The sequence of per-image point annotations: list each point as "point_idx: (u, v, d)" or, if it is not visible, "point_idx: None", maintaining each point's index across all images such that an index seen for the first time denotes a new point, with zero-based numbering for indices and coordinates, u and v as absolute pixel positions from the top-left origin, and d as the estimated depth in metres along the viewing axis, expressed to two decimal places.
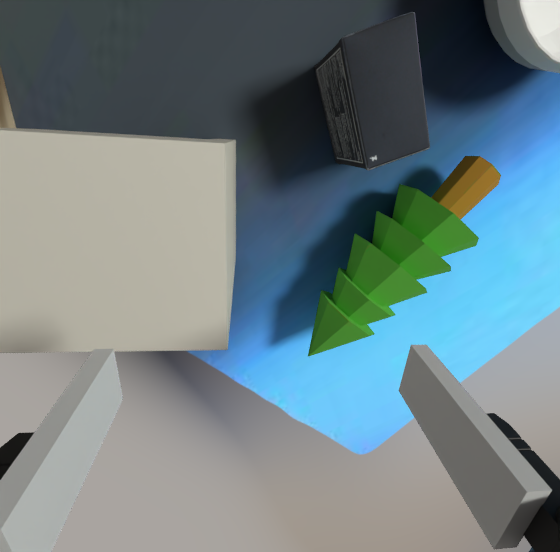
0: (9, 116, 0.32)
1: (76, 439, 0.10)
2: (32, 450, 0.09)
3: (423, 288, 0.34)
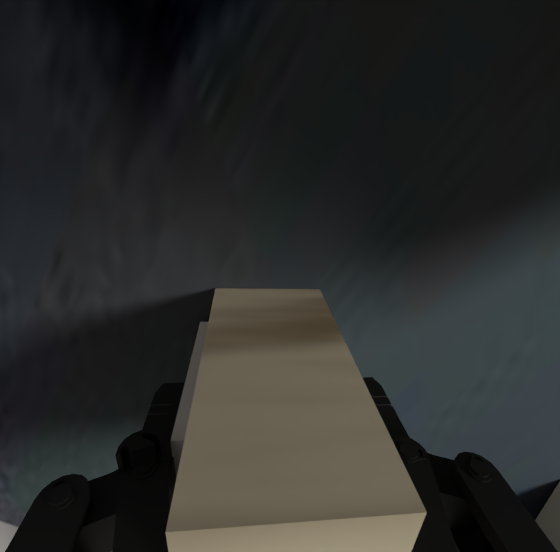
0: None
1: None
2: (191, 391, 0.11)
3: None
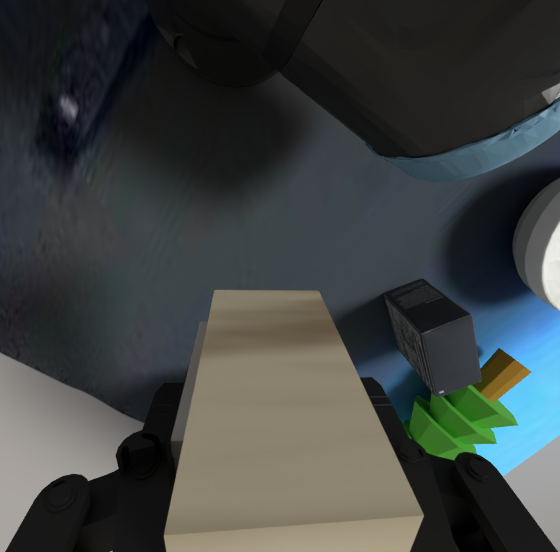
0: None
1: None
2: (191, 391, 0.11)
3: None
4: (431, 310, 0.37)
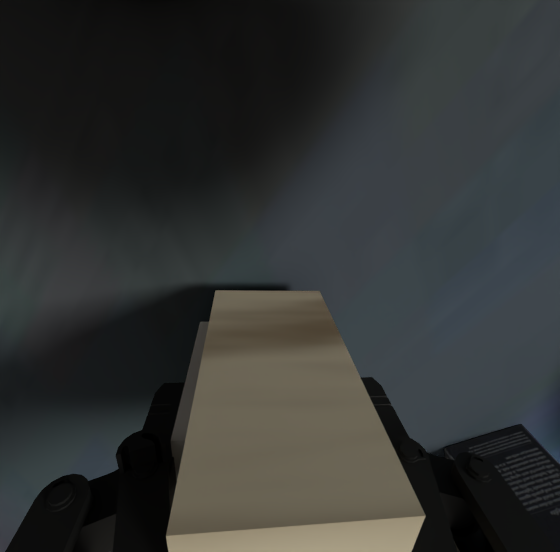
0: None
1: None
2: (191, 391, 0.11)
3: None
4: None
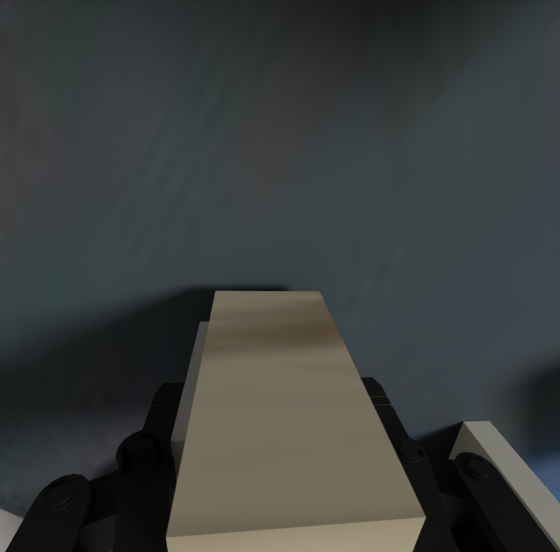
0: None
1: None
2: (191, 391, 0.11)
3: None
4: None
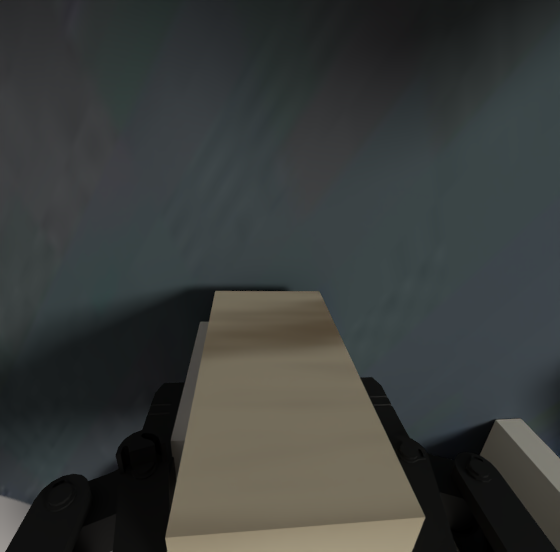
0: None
1: None
2: (191, 391, 0.11)
3: None
4: None
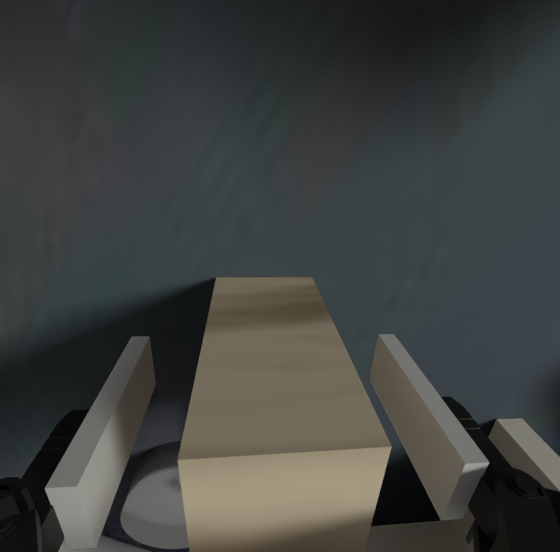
0: None
1: (124, 416, 0.11)
2: (91, 422, 0.10)
3: None
4: None
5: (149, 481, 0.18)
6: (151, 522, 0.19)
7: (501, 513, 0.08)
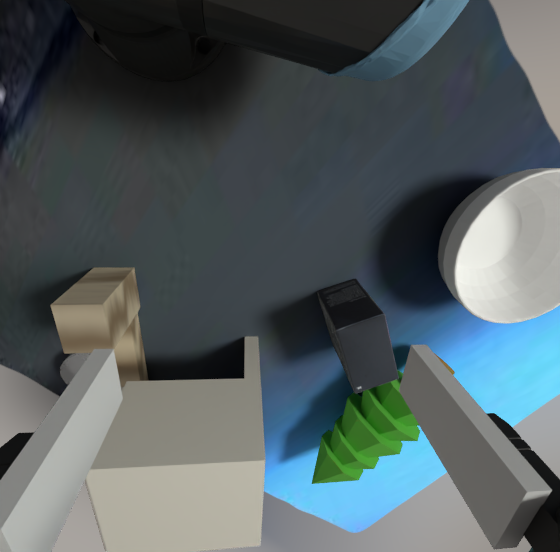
0: (144, 362, 0.47)
1: (76, 439, 0.10)
2: (32, 450, 0.09)
3: (397, 453, 0.46)
4: (351, 309, 0.39)
5: (71, 355, 0.43)
6: (74, 375, 0.44)
7: None
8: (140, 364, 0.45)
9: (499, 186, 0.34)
